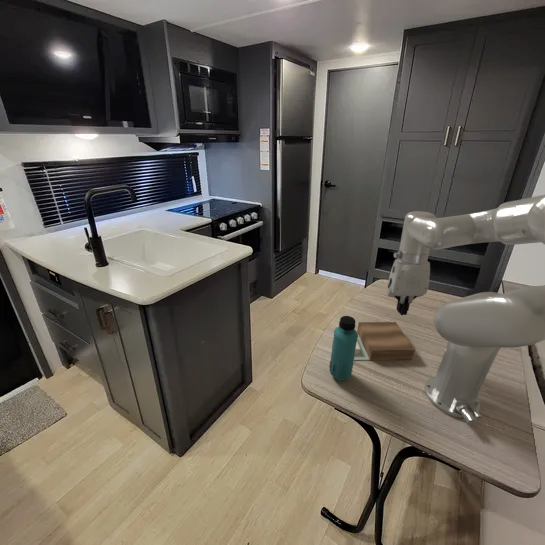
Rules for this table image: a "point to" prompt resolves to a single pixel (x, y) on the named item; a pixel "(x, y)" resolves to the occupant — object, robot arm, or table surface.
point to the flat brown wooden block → (385, 341)
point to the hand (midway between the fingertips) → (401, 312)
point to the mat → (361, 352)
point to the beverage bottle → (343, 348)
